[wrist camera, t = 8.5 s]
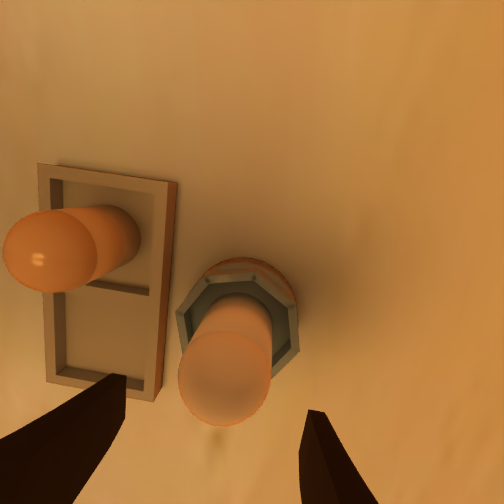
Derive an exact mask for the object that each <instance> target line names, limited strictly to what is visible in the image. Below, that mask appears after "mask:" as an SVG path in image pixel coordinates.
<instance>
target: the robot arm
mask: <svg viewBox="0 0 504 504" xmlns="http://www.w3.org/2000/svg"><path fill="white" fill-rule="evenodd" d="M126 383H127V376H126V375H121V374H115V373H111V374H109V375H108V376H106V377H105V378H103V379H101V380H100V381H98V382H97V383H95V384H94V385H92V386H90V387H89V388H87V389H86V390H84V391H83V392H81V393H79V394H78V395H76V396H75V397H73V398H71V399H70V400H68V401H67V402H65V403H63V404H62V405H60V406H59V407H57V408H55V409H54V410H52V411H50V412H48V413H47V414H45V415H43V416H41V417H40V418H38V419H36V420H34V421H33V422H31V423H29V424H27V425H26V426H24V427H22V428H20V429H19V430H17V431H15V432H13V433H11V434H9V435H7V436H5V437H3V438H2V439H0V504H72V503H73V502H74V500H75V499H76V497H77V496H78V495H79V493H80V492H81V490H82V489H83V487H84V486H85V484H86V483H87V481H88V480H89V478H90V477H91V475H92V474H93V472H94V471H95V469H96V468H97V466H98V465H99V463H100V462H101V460H102V458H103V457H104V455H105V454H106V452H107V451H108V449H109V448H110V446H111V444H112V442H113V441H114V439H115V437H116V435H117V433H118V431H119V429H120V427H121V425H122V423H123V421H124V420H125V408H126ZM299 481H300V492H301V501H302V504H379V503H378V502H377V500H376V499H375V497H374V496H373V494H372V493H371V491H370V490H369V488H368V487H367V485H366V484H365V482H364V480H363V479H362V477H361V476H360V474H359V472H358V471H357V469H356V467H355V466H354V464H353V462H352V461H351V459H350V457H349V456H348V454H347V452H346V450H345V449H344V447H343V445H342V443H341V441H340V440H339V438H338V436H337V434H336V432H335V431H334V429H333V427H332V425H331V423H330V421H329V419H328V417H327V415H326V414H325V413H324V412H320V411H314V410H309V409H308V413H307V418H306V422H305V427H304V431H303V435H302V440H301V444H300V449H299Z"/></svg>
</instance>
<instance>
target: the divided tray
mask: <svg viewBox="0 0 504 504" xmlns="http://www.w3.org/2000/svg"><path fill="white" fill-rule="evenodd" d="M37 167H38V192H39V212H40V211H45V210H55V209H66V208H77V207H88V206H99V205H113V206H117V207H119V208H121V209H123V210H125V211H126V212H127V213H129V214H130V215H131V216H132V218H133V219H134V220H135V222H136V223H137V225H138V228H139V231H140V235H141V244H140V249H139V251H138V253H137V255H136V256H135V258H134V259H133V260H132V261H130V262H129V263H127V264H125V265H123V266H121V267H119V268H117V269H115V270H113V271H111V272H109V273H107V274H105V275H103V276H101V277H99V278H97V279H95V280H93V281H91V282H89V283H87V284H85V285H83V286H81V287H79V288H76V289H74V290H71V291H67V292H61V293H47V292H43V313H44V338H45V362H46V382H49V383H54V384H59V385H64V386H70V387H75V388H80V389H87V388H89V387H90V386H92V385H94V384H95V383H97V382H98V381H100V380H101V379H103V378H105V377H106V376H108V375H109V374H111V373H115V374H121V375H126V376H127V383H126V397H128V398H133V399H138V400H143V401H149V402H154V400H155V399H156V397H157V395H158V393H159V392H160V390H161V388H162V379H163V365H164V352H165V339H166V325H167V312H168V299H169V285H170V272H171V258H172V245H173V232H174V218H175V205H176V192H177V183H173V182H166V181H159V180H153V179H146V178H139V177H132V176H125V175H119V174H112V173H105V172H98V171H91V170H85V169H78V168H71V167H64V166H57V165H48V164H39V163H37Z"/></svg>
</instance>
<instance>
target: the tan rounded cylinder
mask: <svg viewBox="0 0 504 504" xmlns="http://www.w3.org/2000/svg"><path fill="white" fill-rule="evenodd" d="M272 330H273V323H272V317H271V314H270V312H269V310H268V308H267V307H266V306H265V304H264V303H263V302H262V301H260V300H259V299H258V298H256V297H254V296H252V295H250V294H246V293H241V292H233V293H228V294H225V295H222V296H221V297H219V298H217V299H216V300H215V301H214V302H213V303H212V304H211V305H210V307H209V309H208V310H207V312H206V314H205V316H204V318H203V319H202V321H201V323H200V325H199V327H198V328H197V330H196V332H195V334H194V335H193V337H192V339H191V341H190V343H189V344H188V346H187V348H186V350H185V352H184V353H183V356H182V358H181V361H180V365H179V370H178V386H179V391H180V395H181V397H182V399H183V402H184V404H185V405H186V407H187V408H188V410H189V411H190V412H191V413H192V414H193V415H194V416H195V417H196V418H198V419H199V420H201V421H202V422H204V423H207V424H209V425H213V426H218V427H227V426H233V425H236V424H239V423H241V422H244V421H245V420H247V419H248V418H250V417H251V416H252V415H254V414H255V413H256V411H257V410H258V409H259V408H260V407H261V405H262V404H263V402H264V400H265V399H266V396H267V394H268V391H269V388H270V383H271V370H272Z"/></svg>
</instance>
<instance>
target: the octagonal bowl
mask: <svg viewBox="0 0 504 504" xmlns="http://www.w3.org/2000/svg"><path fill="white" fill-rule="evenodd" d="M233 292H241V293H246V294H250V295H252V296H254V297H256V298H258V299H259V300H260V301H262V302H263V303H264V304H265V306H266V307H267V308H268V310H269V312H270V314H271V317H272V323H273V330H272V370H271V379H272V378H273V377H274V376H275V375H276V374H277V373H278V372H279V371H280V370H281V369H282V368H283V367H284V366H285V365H286V364H287V363H288V362H289V361H290V360H291V359H292V358H293V357H294V356H295V355H296V354H297V353H298V352H299V351H300V350H299V336H298V315H297V309H296V301H295V298H294V294H293V291H292V289H291V287H290V285H289V283H288V282H287V280H286V279H285V278H284V276H283V275H282V274H281V273H280V272H279V271H278V270H276V269H275V268H274V267H272V266H271V265H269V264H267V263H265V262H262V261H260V260H256V259H252V258H233V259H228V260H225V261H222V262H220V263H218V264H216V265H215V266H213V267H212V268H210V269H209V270H208V271H207V272H206V273H205V274H204V275H203V276H202V277H201V279H200V280H199V281H198V282H197V283H196V285H195V286H194V287H193V288H192V290H191V291H190V293H189V294H188V296H187V298H186V299H185V300H184V302H183V303H182V304H181V305H180V307H179V308H178V309H177V310H176V311H175V314H176V320H177V325H178V331H179V337H180V342H181V348H182V354H183V353H184V352H185V350H186V348H187V346H188V344H189V343H190V341H191V339H192V337H193V335H194V334H195V332H196V330H197V328H198V327H199V325H200V323H201V321H202V319H203V318H204V316H205V314H206V312H207V310H208V309H209V307H210V305H211V304H212V303H213V302H214V301H215V300H216V299H217V298H219V297H221V296H222V295H225V294H228V293H233Z"/></svg>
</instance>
